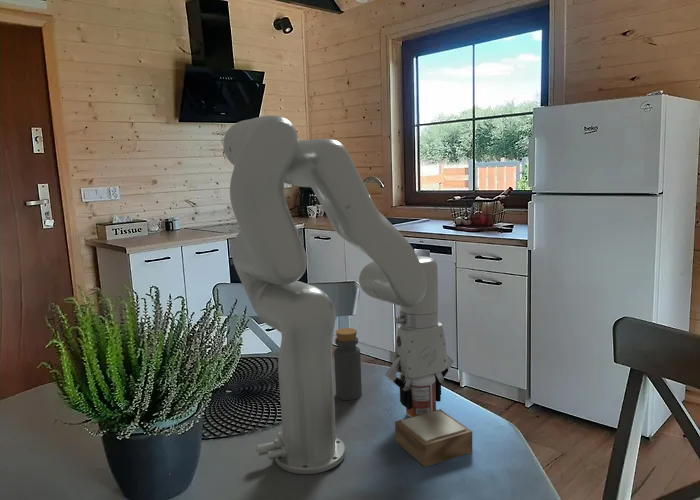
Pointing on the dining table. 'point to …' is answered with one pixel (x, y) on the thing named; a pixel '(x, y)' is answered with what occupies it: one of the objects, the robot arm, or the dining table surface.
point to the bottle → (347, 365)
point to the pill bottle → (422, 395)
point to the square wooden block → (433, 437)
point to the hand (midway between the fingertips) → (420, 402)
